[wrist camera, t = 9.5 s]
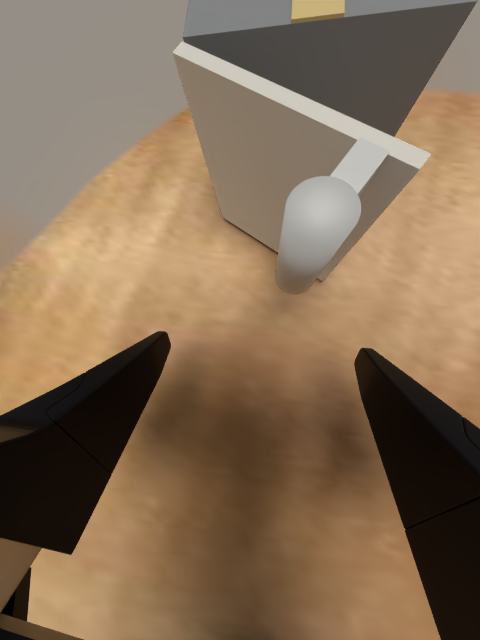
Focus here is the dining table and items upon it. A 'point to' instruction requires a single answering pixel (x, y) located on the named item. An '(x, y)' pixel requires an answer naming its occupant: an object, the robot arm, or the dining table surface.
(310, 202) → the white square panel
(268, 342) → the dining table surface
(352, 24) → the carton
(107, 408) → the robot arm
